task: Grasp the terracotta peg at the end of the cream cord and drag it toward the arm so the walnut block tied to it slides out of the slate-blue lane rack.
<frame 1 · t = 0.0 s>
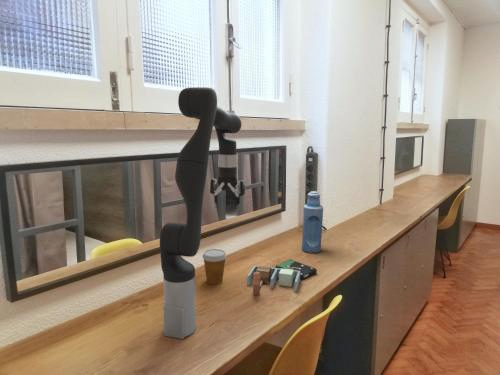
hand: (227, 204, 146), 29 cm above the counter, fingers open, 8 cm apart
lane rack: (273, 283, 141), on the counter
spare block: (286, 283, 142), resting in lane rack
disk drive: (295, 273, 153), on the counter
corded block: (263, 280, 144), on the counter
disposable coffee cup: (214, 281, 142), on the counter
bottle: (311, 250, 180), on the counter
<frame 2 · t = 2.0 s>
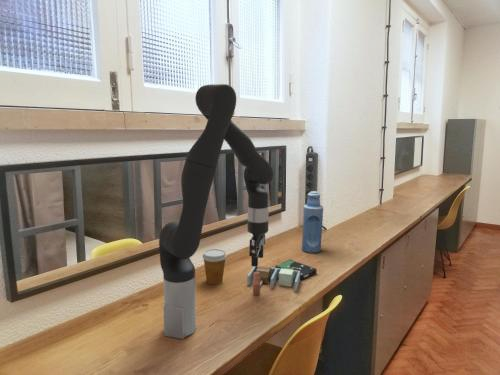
hand: (257, 261, 130), 12 cm above the counter, fingers open, 8 cm apart
nothing on the counter moved.
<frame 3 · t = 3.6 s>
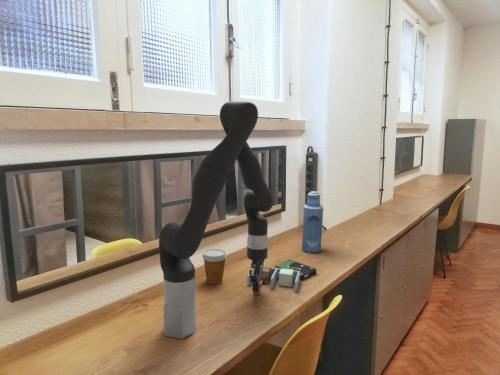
hand: (256, 289, 132), 2 cm above the counter, fingers closed on corded block, 2 cm apart
corded block: (263, 280, 144), on the counter, touching gripper
everything else where it was.
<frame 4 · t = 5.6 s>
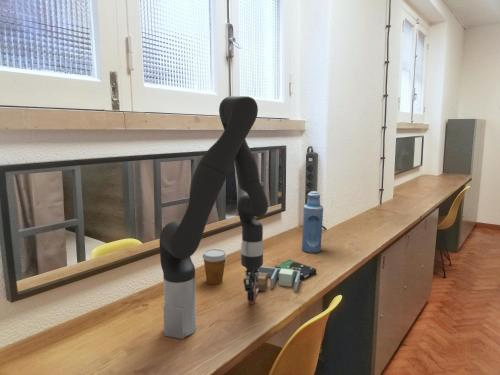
hand: (251, 298, 126), 2 cm above the counter, fingers closed on corded block, 2 cm apart
corded block: (259, 287, 137), on the counter, touching gripper
everything else where it was.
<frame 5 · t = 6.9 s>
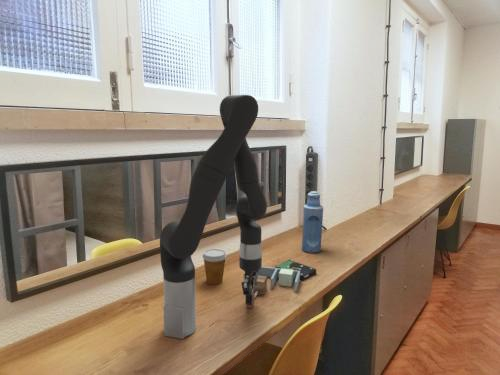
hand: (250, 301, 123), 2 cm above the counter, fingers closed on corded block, 2 cm apart
corded block: (258, 290, 135), on the counter, touching gripper
everything else where it was.
when the fingers open (2 cm above the counter, at t = 7.4 s): corded block stays where it is, on the counter.
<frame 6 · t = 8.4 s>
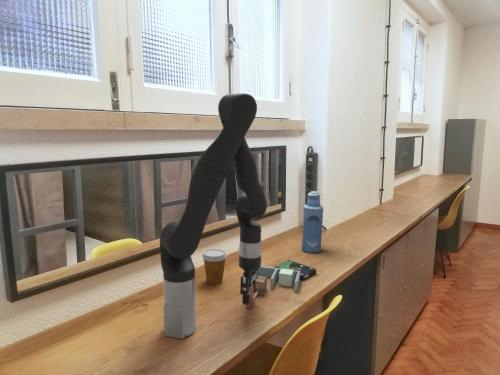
hand: (249, 298, 122), 3 cm above the counter, fingers open, 8 cm apart
corded block: (258, 291, 134), on the counter
everything else where it was.
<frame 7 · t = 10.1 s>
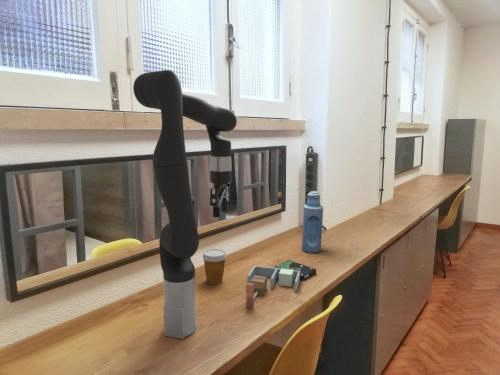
hand: (220, 214, 127), 30 cm above the counter, fingers open, 8 cm apart
nothing on the counter moved.
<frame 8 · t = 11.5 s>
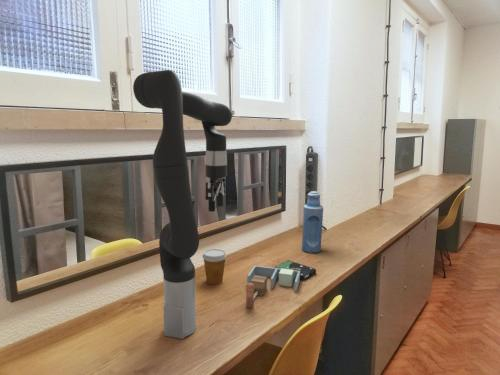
hand: (216, 208, 127), 32 cm above the counter, fingers open, 8 cm apart
nothing on the counter moved.
at the end: corded block inside the target area (2.3 cm from its centre), on the counter; corded block moved 9.8 cm from its start; the gripper is holding nothing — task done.
